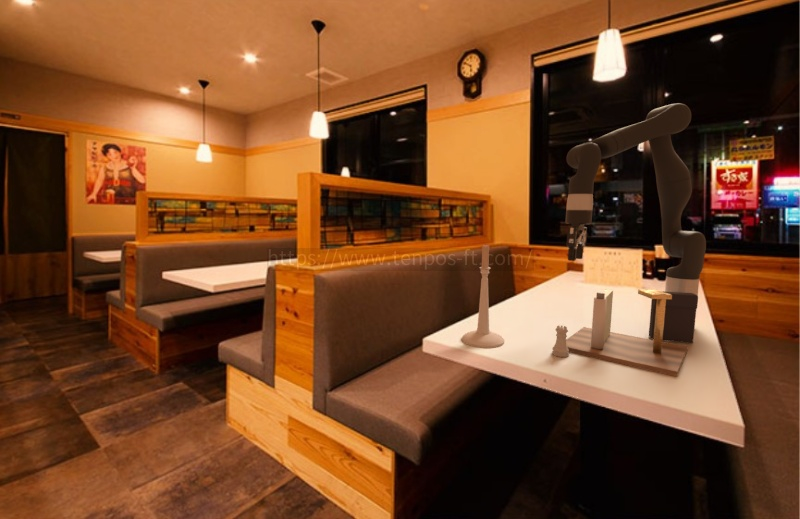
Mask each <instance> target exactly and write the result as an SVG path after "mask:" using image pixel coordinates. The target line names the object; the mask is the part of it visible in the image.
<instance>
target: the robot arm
mask: <svg viewBox="0 0 800 519" xmlns="http://www.w3.org/2000/svg"><path fill="white" fill-rule="evenodd" d="M691 120H692V112H691V109H690V107H688V105H686V104H684V103H680V102H677V103H671V104H668V105H667V104H666V105H664V106H661V107H660V106H659V107H657V108H654V109H652V110H651V111H649V112H648V113H647V115H646V118H645V120H643V121H641V122H637V123H634V124H631V125H628V126H624V127H621V128H618V129H616V130H613V131H611V132H608V133H607V134H604V135H602V136H600V137H598V138H595V139H593V140H590V141H588V142H583V143H580V144H579V145H576V146H574V147H572V148H571V149H570V150H569V151H568V152H567V155H566V163H567V165H568V166H570V168H573V169H577V170H576V173H575V175H573V176H571V177H570V179H569V183H568V195H567V201H566V211H565V224H567V225H571V227H570V226H569V227H567V233H566V244H565V246H566V247H567V249H568V253H567V260H568V261H569V262H570V261H572V262H576V260H582V259H583V257H584V256H583V255H584V254H583V253H584V248H585V246H586V245H587V235H588V234H587V233H588V232H587V231H588V227H586V226H585V225H591V224H592V220H593V219H592V218H593V207H594V198H593V197H594V195H593V194H594V185H595V184H594V182H595V179H596V176H597V174H598V171H599V167H600V164H601V160H602V159H608V158H610V157H613V156H616V155H618V154H620V153H622V152H625V151H627V150H629V149H632V148H633V147H636V146H639V145H641V144H643V143H646V142H647V141H648V145H649V149H650V151H651V155H652V160H653V166H654V172H655V179H656V180H655V182H656V188H657V194H658V198H659V205H660V206H659V207H660V218H661V235H662V236H661V237H662V238H661V239H662V241H661V242H662V248H663V251H664V253H665V254H666V255H667V256H670V257H673V258H681V260H680V263H679V264H678V265H676V266H671V267H669V268H667V270H666V273H665V274H666V275H665V289H664V291H665V292H682V293H693V294H695V295H697V296H698V297H699V285H700V276H701V273H702V270H703V268H704V262H705V256H706V249H707V240H706V237H705V235H704V233H702V232H700V231H693V230H692V231H690V230H683V229H682V225H681V224H682V221H681V220H682V219H681V218H682V214H683V211H684V210H685V208H686V206H687V204H688V202H689V200H690V198H691V195H692V193H693V187H692V179H691V173H690V170H689V169H688V167H687V165H686V163H684V162H683V160H682V159H681V158H680V156H679V155H678V154H677V153H676V151H675V149H674V146H673V143H672V137H671V135H674V134H675V135H676V134H678V133H680V132H682V131H684V130H685V129H686V128H687V127H688V126H689V124H690V123H691V122H692V121H691ZM696 318H697V315H696V316H695V319H696ZM695 327H696V326H695ZM695 327H694V329H695Z"/></svg>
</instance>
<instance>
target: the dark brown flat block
mask: <svg viewBox="0 0 800 519" xmlns="http://www.w3.org/2000/svg"><path fill="white" fill-rule="evenodd" d="M662 292H665V290H664V291H662ZM665 293H668V294H671V295H672V299H666V305H665V317H664V328H663V340H662V341H663V342H675V343H685V344H686V343H687V344H693V343H694V337H695V336H694V335H695V328H694V327H696V318H695V316H696V317H697V309H698V302H699V295H698V296H697V295H695V294H693V293H682V292H665ZM656 305H657V299H651V305H650V316H649V326H648V327H649V329H648V337H649V339H651V340H654V329H655V317H656Z"/></svg>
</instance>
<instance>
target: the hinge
mask: <svg viewBox="0 0 800 519" xmlns="http://www.w3.org/2000/svg"><path fill="white" fill-rule="evenodd" d="M613 295H614V290H613V289H608V288H607V289H605V290H603V291H602V292H596V297H593V307H592V321H591V322H592V323H591V328H592V337H591V347H593V348H596V349H603V348H604V342H605V341H606V339H607V338H608V336H609V335H610V332H611V327H612V312H613V311H612V310H613V300H614V299H613V297H614V296H613Z"/></svg>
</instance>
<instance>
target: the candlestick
mask: <svg viewBox="0 0 800 519" xmlns="http://www.w3.org/2000/svg"><path fill="white" fill-rule="evenodd" d="M489 253H490V245H487V244H484V245H481V266H480V267H478V268H479V270H480V272H479V273H480V274H481V280H480V281H481V282H480V294H479V305H478V320H477V329H476V330H472V331H468V332H467V333H464V334H463V335H462V337H461V341H462V342H463V343H464V344H466V345H468V346H471V347H475V348H483V349H491V348H492V349H493V348H499V347H503V345H504V344H505V338H504V337H503V336H502V335H500V334H498V333H496V332H493V331H490V313H489V312H490V311H489V278H488V276H489V274H490V270H491V269H492V268H491V267H490V266H489V263H490V262H489V256H490V254H489Z"/></svg>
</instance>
